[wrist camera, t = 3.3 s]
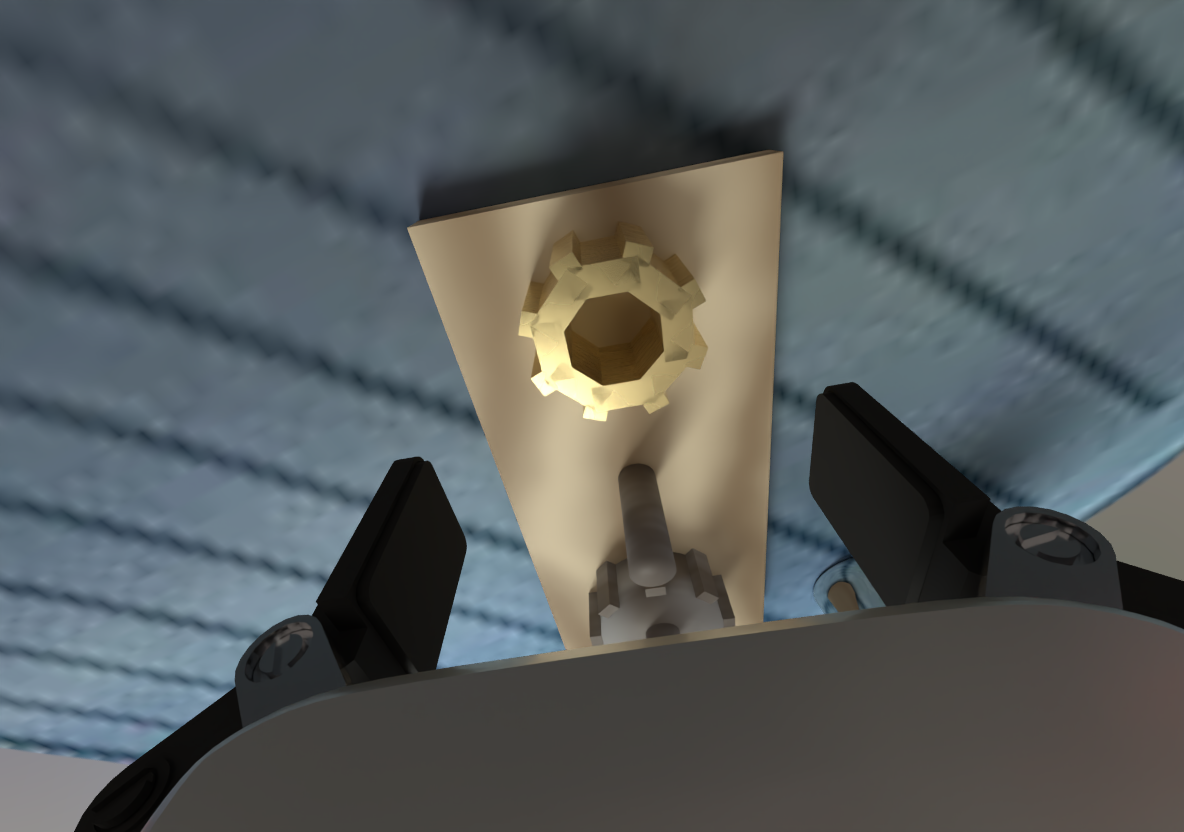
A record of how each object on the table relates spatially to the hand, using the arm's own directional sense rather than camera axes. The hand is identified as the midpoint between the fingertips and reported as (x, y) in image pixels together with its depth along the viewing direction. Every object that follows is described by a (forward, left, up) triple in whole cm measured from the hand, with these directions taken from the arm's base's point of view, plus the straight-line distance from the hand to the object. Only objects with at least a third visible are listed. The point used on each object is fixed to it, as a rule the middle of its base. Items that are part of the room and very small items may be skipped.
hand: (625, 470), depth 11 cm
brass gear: (0, -1, -10) cm, 10 cm away
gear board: (0, +9, -11) cm, 15 cm away
